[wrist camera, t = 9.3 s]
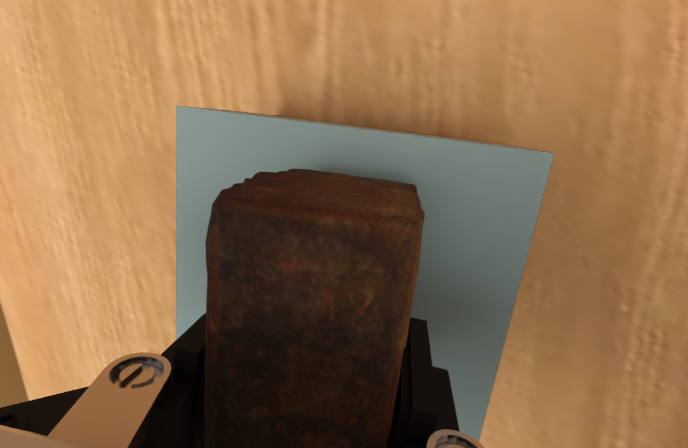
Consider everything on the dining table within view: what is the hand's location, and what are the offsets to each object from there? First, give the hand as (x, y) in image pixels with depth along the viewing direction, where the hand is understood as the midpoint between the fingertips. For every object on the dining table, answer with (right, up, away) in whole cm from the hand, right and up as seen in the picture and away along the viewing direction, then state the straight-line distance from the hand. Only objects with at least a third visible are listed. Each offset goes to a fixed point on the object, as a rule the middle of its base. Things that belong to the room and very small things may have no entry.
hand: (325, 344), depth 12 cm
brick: (0, 0, +1) cm, 1 cm away
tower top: (+1, +2, +7) cm, 7 cm away
